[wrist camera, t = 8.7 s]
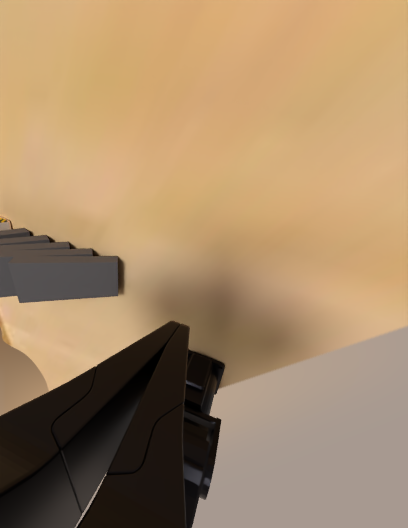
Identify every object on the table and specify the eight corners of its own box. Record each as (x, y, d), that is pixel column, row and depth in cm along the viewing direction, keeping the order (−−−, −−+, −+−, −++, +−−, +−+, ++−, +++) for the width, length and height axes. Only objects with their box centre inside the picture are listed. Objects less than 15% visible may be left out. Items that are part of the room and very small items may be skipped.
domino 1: (54, 272, 28) (-58, 292, 22) (52, 266, 29) (-56, 285, 23) (49, 239, 26) (-78, 251, 19) (46, 235, 27) (-76, 245, 20)
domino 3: (95, 287, 27) (-9, 298, 22) (94, 280, 28) (-4, 289, 23) (92, 254, 24) (-24, 257, 20) (92, 248, 26) (-17, 250, 21)
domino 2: (74, 279, 28) (-34, 295, 22) (72, 273, 29) (-31, 287, 23) (69, 246, 25) (-53, 254, 20) (68, 241, 26) (-48, 247, 21)
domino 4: (118, 295, 26) (19, 302, 22) (118, 288, 27) (24, 294, 23) (117, 262, 24) (7, 263, 20) (117, 256, 25) (14, 256, 21)
